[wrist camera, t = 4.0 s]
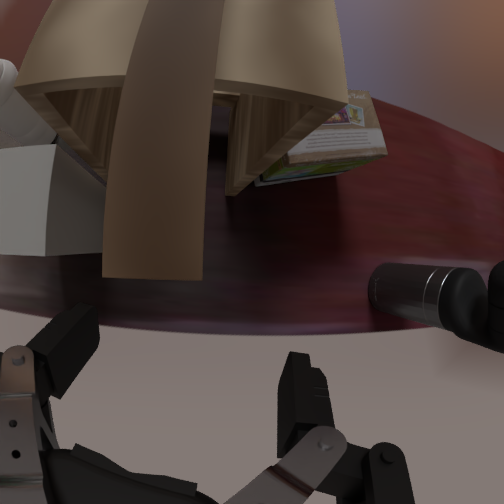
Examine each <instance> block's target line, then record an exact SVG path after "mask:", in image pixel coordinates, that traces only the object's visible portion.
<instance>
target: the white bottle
mask: <svg viewBox="0 0 504 504" xmlns="http://www.w3.org/2000/svg"><path fill="white" fill-rule="evenodd" d="M17 76H18V72H17V70H16V68H15V66H14V65H13V64H12V63H11V62H10V61H7V60H3V59H0V130H2V131H3V132H5V133H7V134H9V135H10V136H11V137H12V138H13V139H14V140H15V141H17V142H19V143H21V144H22V145H23V146H35V145H48V144H51V143H52V141H53V140H54V138H55V137H56V134H57V133H56V132H55V131H54V130H53V129H52V128H51V127H50V126H49V125H48V124H47V123H46V121H45V120H44V119H43V118H42V117H41V116H40V115H39V114H38V113H37V112H36V111H35V110H34V109H33V108H32V107H31V106H30V105H29V104H28V102H27V101H26V100H25V99H24V98H23V97H22V96H21V95H20V94H19V93H18V92H17V91H16V89H15V88H14V84H15V81H16V78H17Z"/></svg>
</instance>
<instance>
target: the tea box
mask: <svg viewBox="0 0 504 504" xmlns="http://www.w3.org/2000/svg"><path fill="white" fill-rule="evenodd" d="M347 91H348V101H349V104H348V105H346V106H345V107H344V108H342V109H341V110H340V111H339V112H337V113H336V114H335V115H333V116H332V117H331V118H329V119H328V120H327V121H326V122H324V123H323V124H322V125H321V126H319V127H318V128H317V129H315V130H314V131H313V132H312V133H310V134H309V135H308V136H307V137H305V138H304V139H303V140H302V141H300V142H299V143H298V144H297V145H295V146H294V147H293V148H292V149H290V150H289V151H288V152H287V153H286V154H284V155H283V156H282V157H281V158H279V159H278V160H277V161H276V162H275V163H273V164H272V165H271V166H270V167H269V168H267V169H266V170H265V171H264V172H263V173H261V174H260V175H259V176H258V177H257V178H256V179H254V183H255V186H264V185H271V184H277V183H284V182H291V181H297V180H305V179H311V178H319V177H326V176H333V175H338V174H340V173H343V172H346V171H348V170H351V169H353V168H356V167H359V166H361V165H364V164H367V163H369V162H372V161H375V160H377V159H380V158H382V157H385V156H387V155H388V153H387V149H386V146H385V142H384V138H383V135H382V132H381V128H380V125H379V122H378V118H377V115H376V112H375V109H374V106H373V103H372V100H371V97H370V94H369V92H368V91H359V90H347Z"/></svg>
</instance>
